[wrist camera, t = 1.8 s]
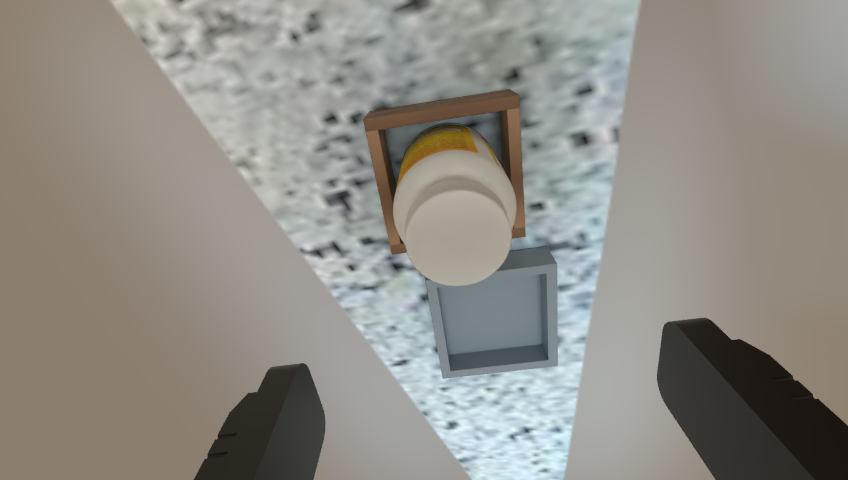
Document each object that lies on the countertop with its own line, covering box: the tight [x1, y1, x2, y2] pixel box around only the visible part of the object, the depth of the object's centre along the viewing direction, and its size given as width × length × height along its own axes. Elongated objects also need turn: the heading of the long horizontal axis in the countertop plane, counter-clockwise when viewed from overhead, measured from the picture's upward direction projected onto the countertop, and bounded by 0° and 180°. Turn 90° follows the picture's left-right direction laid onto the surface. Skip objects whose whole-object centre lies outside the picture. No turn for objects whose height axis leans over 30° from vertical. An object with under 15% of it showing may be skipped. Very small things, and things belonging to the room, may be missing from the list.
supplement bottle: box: [393, 124, 516, 286], centre depth 19 cm, size 5×5×10 cm
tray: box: [425, 247, 558, 379], centre depth 27 cm, size 8×8×2 cm
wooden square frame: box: [363, 89, 526, 254], centre depth 22 cm, size 8×8×2 cm
